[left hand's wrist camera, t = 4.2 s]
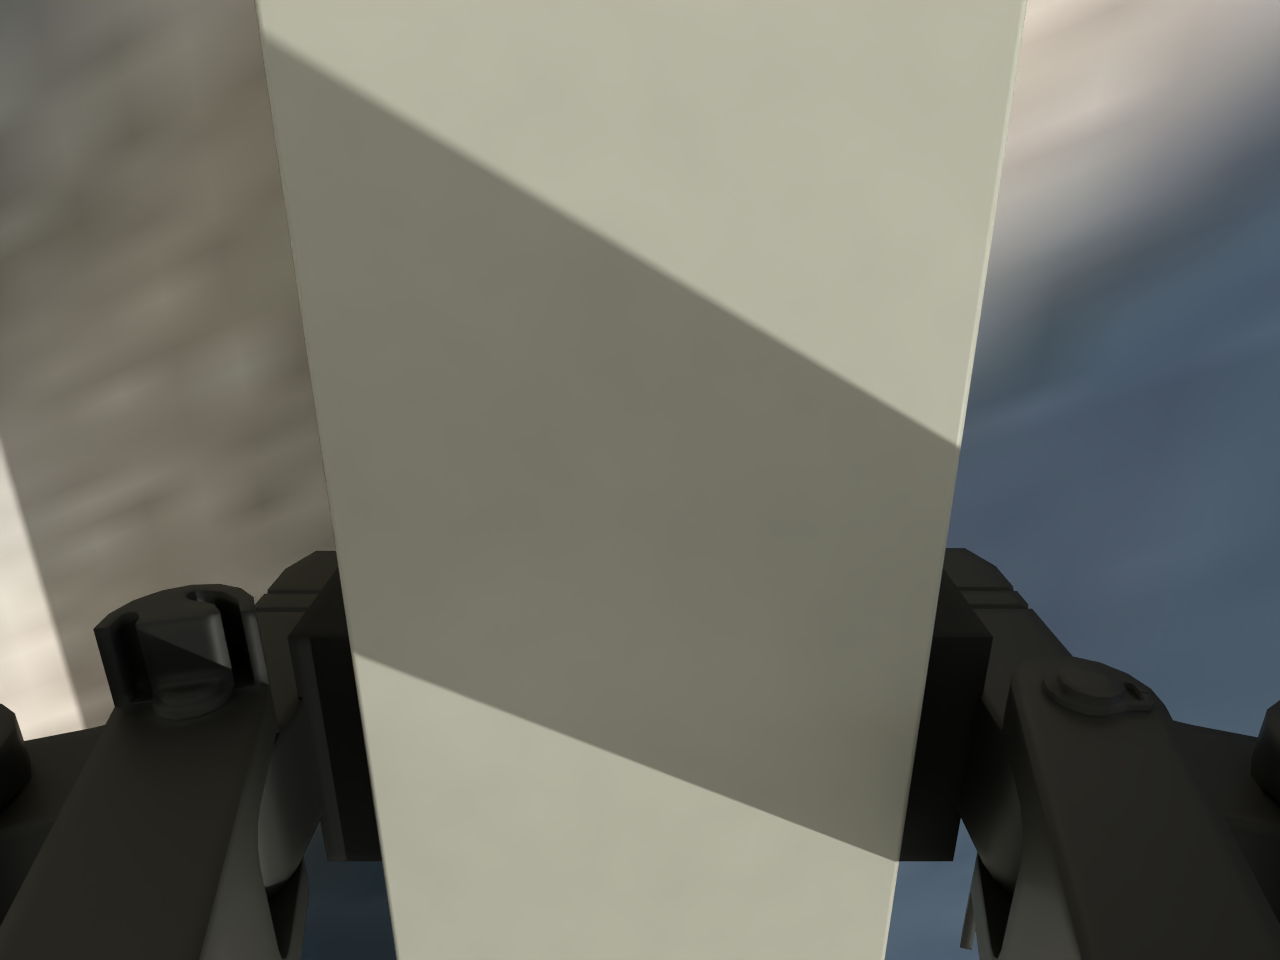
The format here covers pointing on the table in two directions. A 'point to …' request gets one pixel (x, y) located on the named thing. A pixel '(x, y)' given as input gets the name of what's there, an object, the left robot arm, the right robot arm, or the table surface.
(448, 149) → the bar
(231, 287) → the table surface
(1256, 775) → the left robot arm
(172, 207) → the table surface
